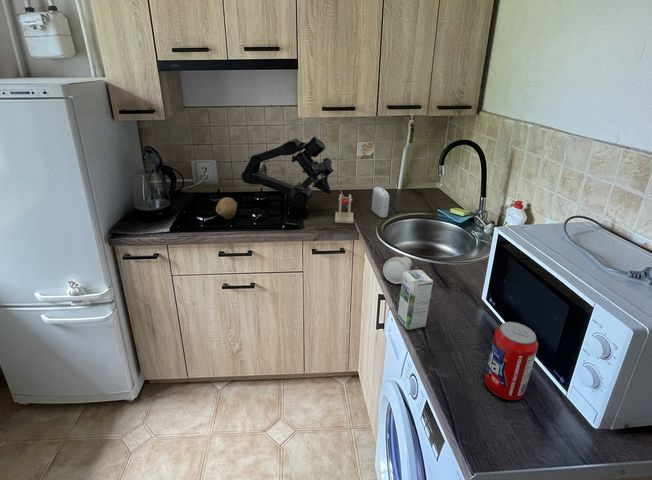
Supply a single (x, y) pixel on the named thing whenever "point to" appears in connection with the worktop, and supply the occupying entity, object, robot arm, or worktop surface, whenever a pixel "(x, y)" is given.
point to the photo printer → (380, 202)
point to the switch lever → (345, 201)
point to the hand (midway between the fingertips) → (330, 193)
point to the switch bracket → (344, 213)
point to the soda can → (511, 360)
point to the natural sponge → (226, 207)
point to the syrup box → (414, 299)
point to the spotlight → (396, 269)
